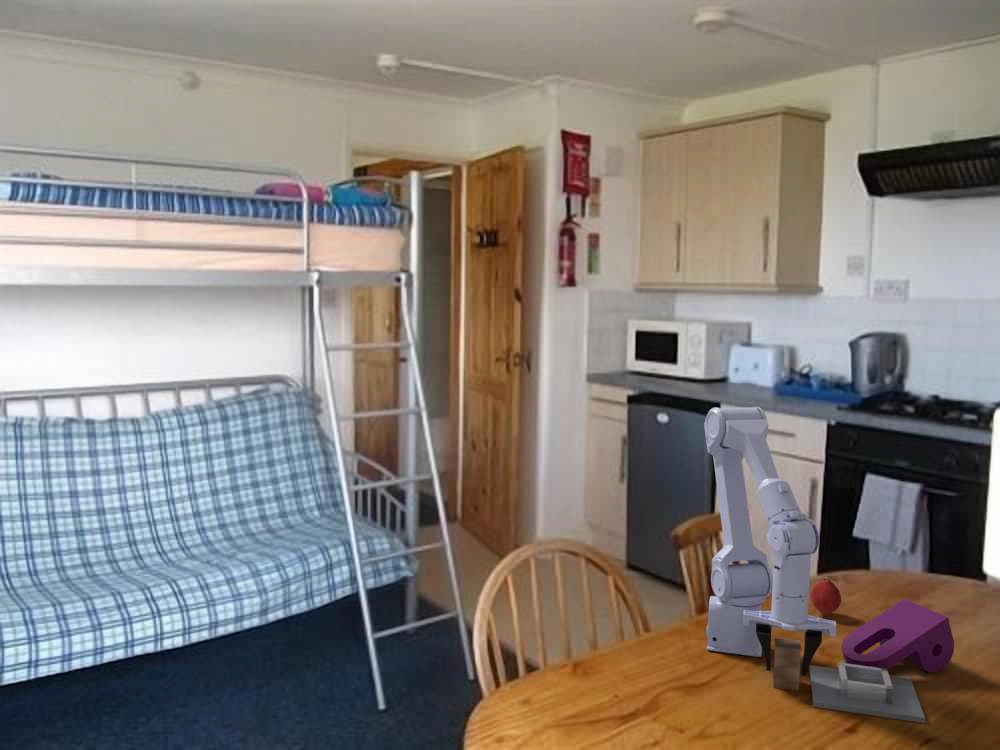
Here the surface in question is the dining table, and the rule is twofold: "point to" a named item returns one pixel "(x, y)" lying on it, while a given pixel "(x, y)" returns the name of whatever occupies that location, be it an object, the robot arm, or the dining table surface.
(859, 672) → the socket board
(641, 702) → the dining table surface
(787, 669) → the walnut peg
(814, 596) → the onion
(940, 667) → the mounting bracket
